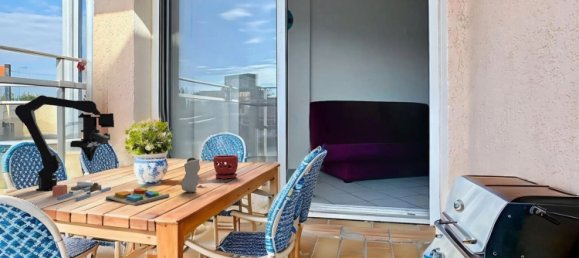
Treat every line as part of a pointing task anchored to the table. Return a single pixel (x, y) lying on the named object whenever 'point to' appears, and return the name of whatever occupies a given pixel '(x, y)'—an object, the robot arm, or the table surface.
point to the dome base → (78, 187)
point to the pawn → (95, 187)
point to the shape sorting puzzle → (137, 196)
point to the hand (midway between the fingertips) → (90, 161)
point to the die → (59, 190)
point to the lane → (83, 192)
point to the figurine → (191, 175)
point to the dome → (84, 183)
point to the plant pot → (226, 166)
